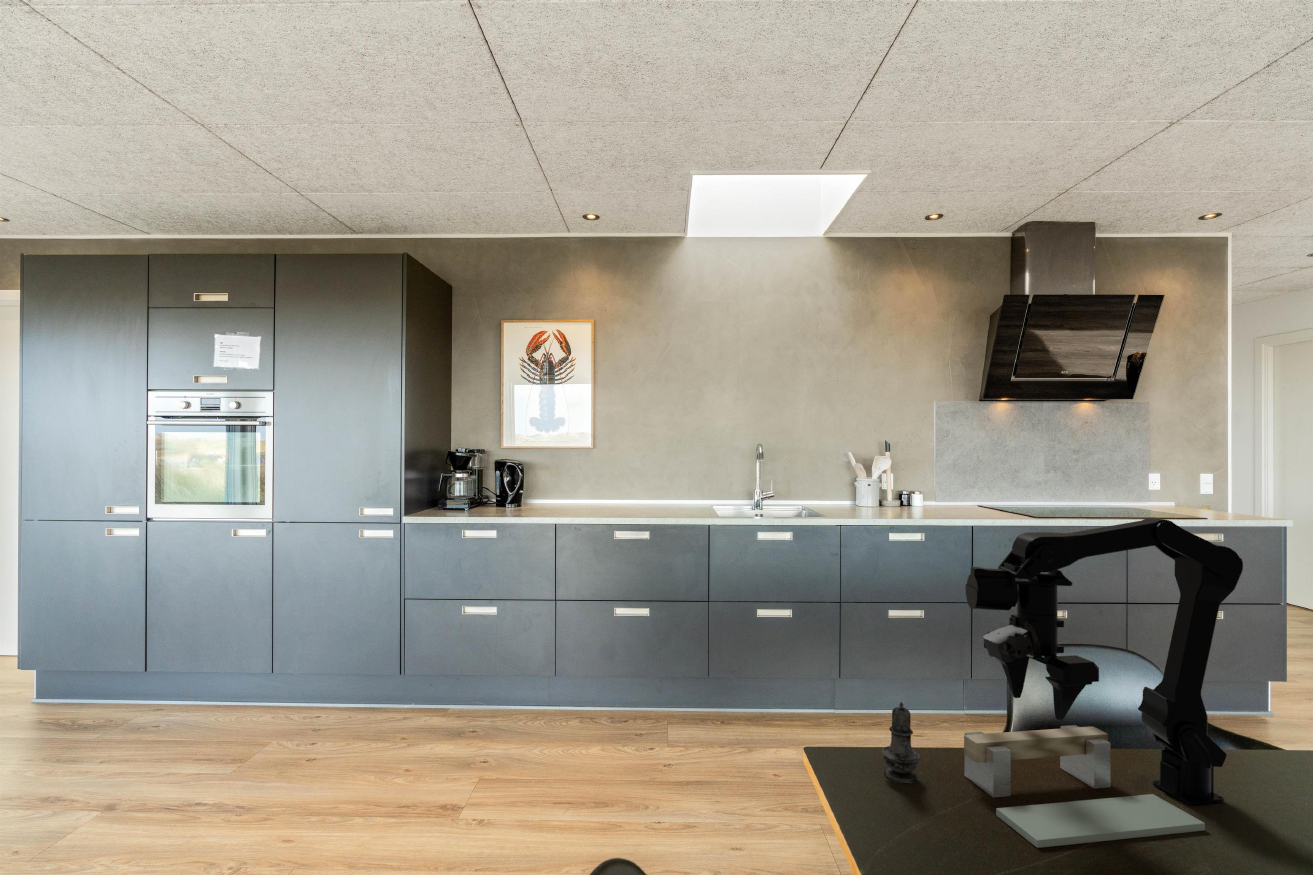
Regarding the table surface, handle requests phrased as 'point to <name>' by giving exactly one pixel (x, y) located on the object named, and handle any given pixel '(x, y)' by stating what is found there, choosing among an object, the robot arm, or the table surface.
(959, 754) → the table surface
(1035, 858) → the table surface
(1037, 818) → the sage board
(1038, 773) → the table surface
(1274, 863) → the table surface
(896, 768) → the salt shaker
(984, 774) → the steel stands
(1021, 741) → the birch rail
